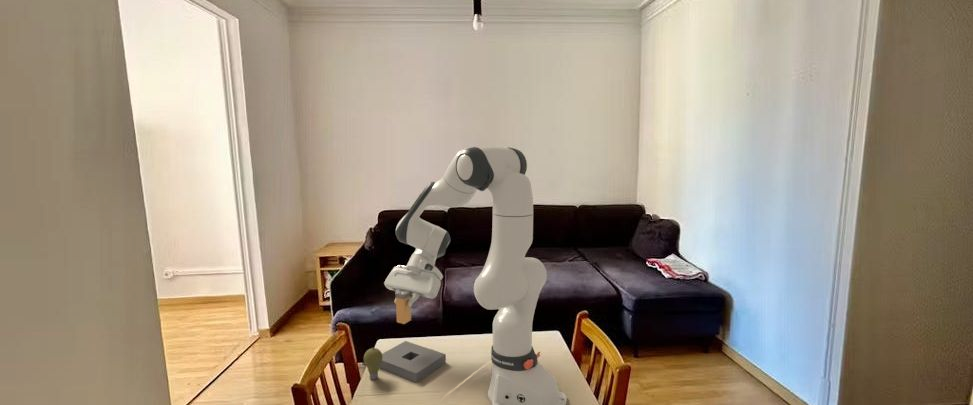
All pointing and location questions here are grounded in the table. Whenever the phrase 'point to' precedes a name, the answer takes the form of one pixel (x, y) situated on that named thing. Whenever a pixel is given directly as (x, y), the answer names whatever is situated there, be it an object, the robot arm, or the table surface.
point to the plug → (403, 307)
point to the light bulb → (373, 361)
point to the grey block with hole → (411, 361)
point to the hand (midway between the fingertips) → (402, 304)
